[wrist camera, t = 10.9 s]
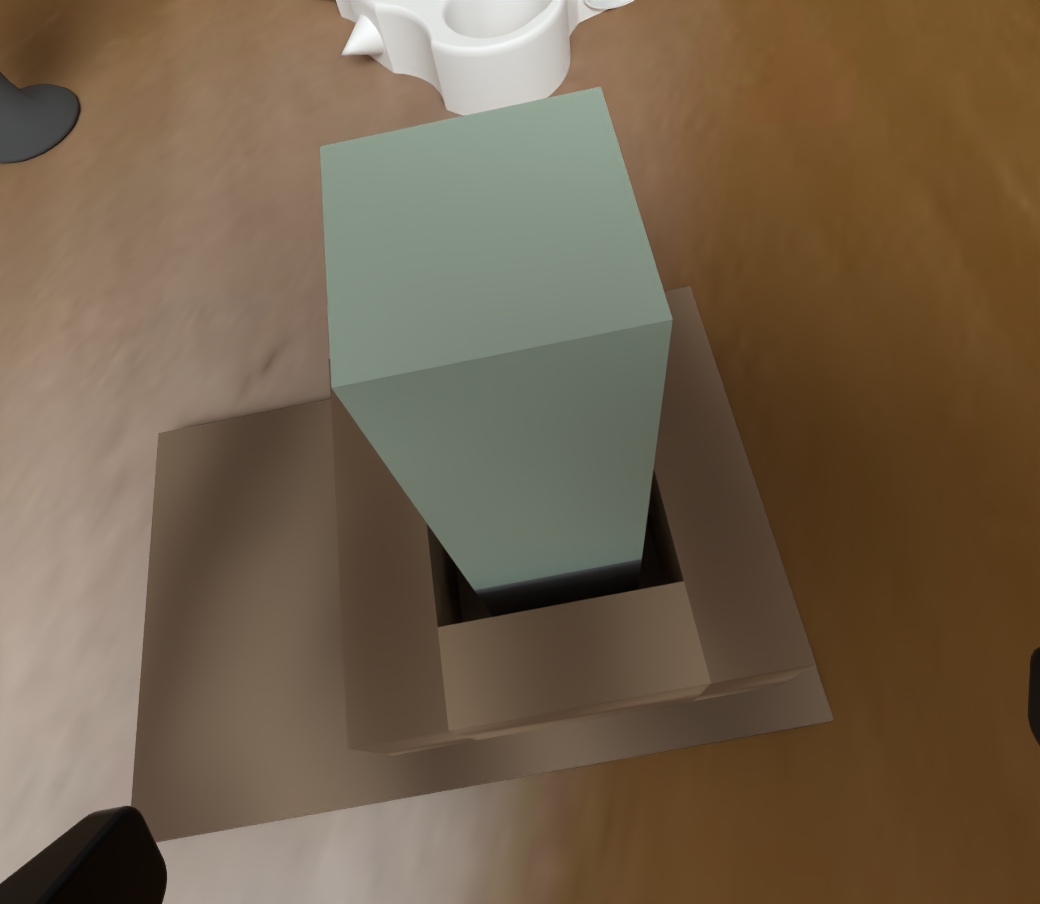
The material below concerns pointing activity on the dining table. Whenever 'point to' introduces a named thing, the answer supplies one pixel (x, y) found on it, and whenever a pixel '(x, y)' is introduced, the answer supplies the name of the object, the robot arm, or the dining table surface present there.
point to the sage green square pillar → (503, 340)
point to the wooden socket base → (439, 623)
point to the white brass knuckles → (472, 45)
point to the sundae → (33, 119)
